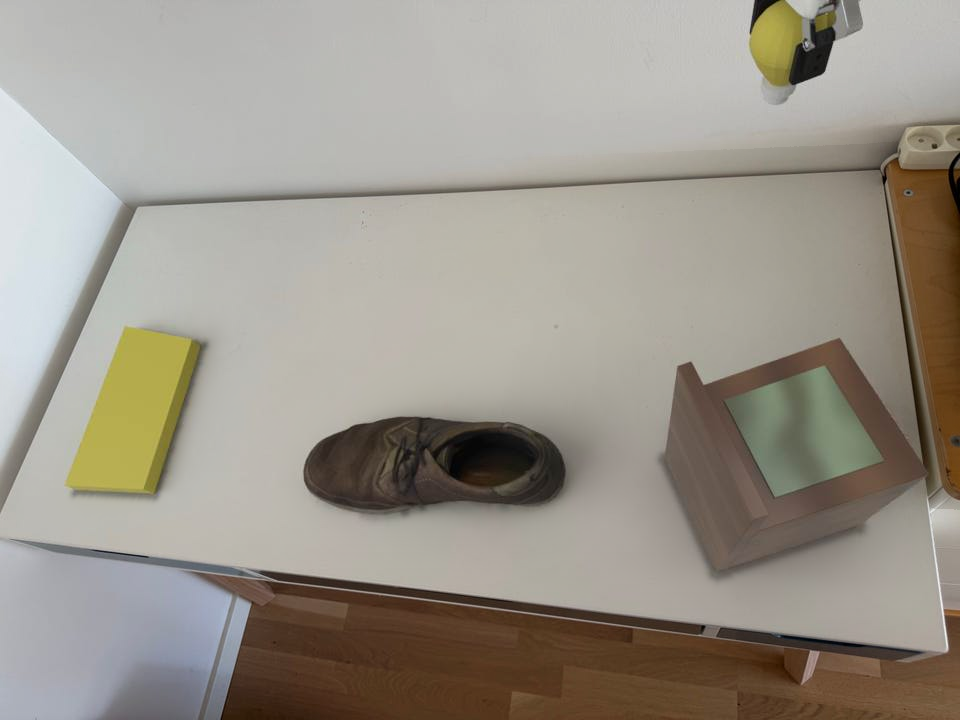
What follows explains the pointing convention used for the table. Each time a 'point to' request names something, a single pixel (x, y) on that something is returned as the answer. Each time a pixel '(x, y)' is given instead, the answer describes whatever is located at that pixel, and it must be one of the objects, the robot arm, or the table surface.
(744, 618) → the table surface
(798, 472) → the wooden frame
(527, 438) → the shoe
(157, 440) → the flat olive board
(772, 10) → the light bulb
